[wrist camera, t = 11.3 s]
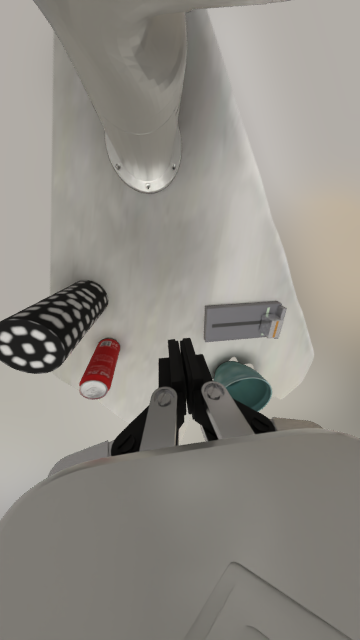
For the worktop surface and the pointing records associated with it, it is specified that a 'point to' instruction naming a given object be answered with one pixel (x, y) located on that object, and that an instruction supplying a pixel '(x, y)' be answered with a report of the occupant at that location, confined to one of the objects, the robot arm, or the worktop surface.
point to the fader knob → (271, 325)
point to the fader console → (238, 320)
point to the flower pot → (244, 384)
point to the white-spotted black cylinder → (51, 328)
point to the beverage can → (100, 370)
